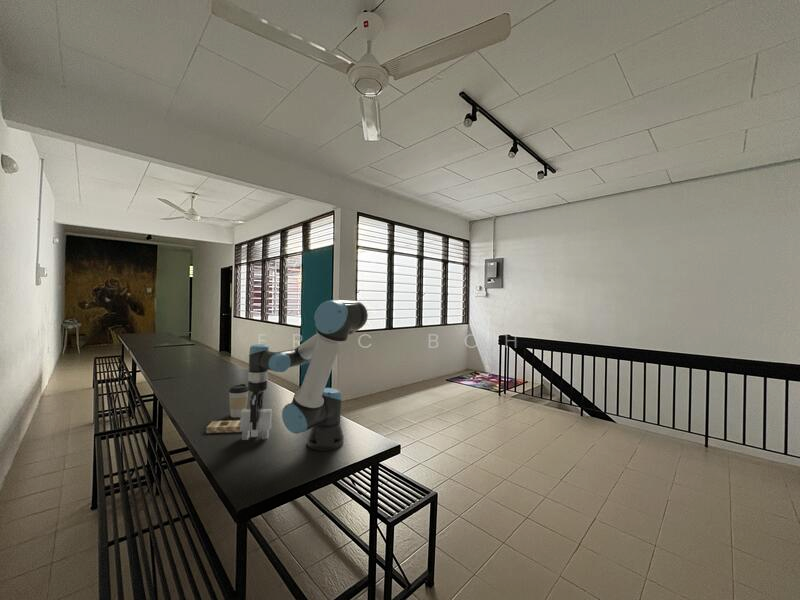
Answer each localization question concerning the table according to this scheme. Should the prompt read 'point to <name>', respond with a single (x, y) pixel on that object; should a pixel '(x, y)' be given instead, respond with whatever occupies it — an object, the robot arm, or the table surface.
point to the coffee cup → (238, 399)
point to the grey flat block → (263, 419)
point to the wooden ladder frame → (223, 426)
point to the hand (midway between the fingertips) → (255, 434)
